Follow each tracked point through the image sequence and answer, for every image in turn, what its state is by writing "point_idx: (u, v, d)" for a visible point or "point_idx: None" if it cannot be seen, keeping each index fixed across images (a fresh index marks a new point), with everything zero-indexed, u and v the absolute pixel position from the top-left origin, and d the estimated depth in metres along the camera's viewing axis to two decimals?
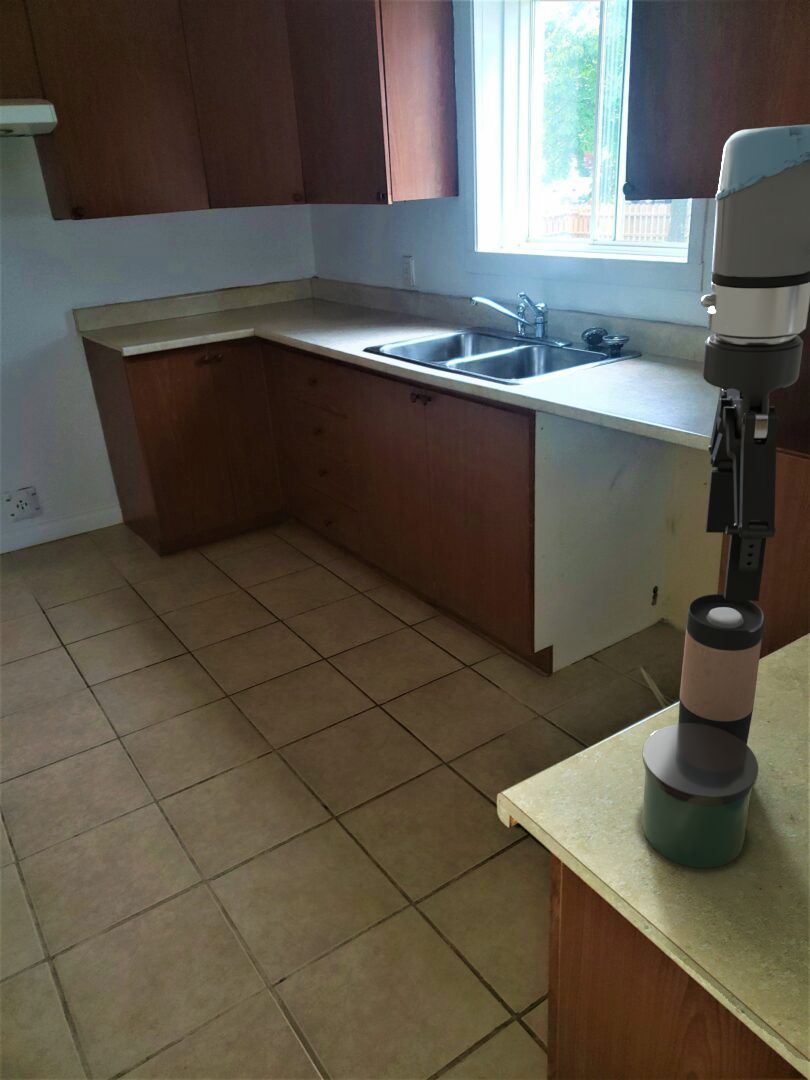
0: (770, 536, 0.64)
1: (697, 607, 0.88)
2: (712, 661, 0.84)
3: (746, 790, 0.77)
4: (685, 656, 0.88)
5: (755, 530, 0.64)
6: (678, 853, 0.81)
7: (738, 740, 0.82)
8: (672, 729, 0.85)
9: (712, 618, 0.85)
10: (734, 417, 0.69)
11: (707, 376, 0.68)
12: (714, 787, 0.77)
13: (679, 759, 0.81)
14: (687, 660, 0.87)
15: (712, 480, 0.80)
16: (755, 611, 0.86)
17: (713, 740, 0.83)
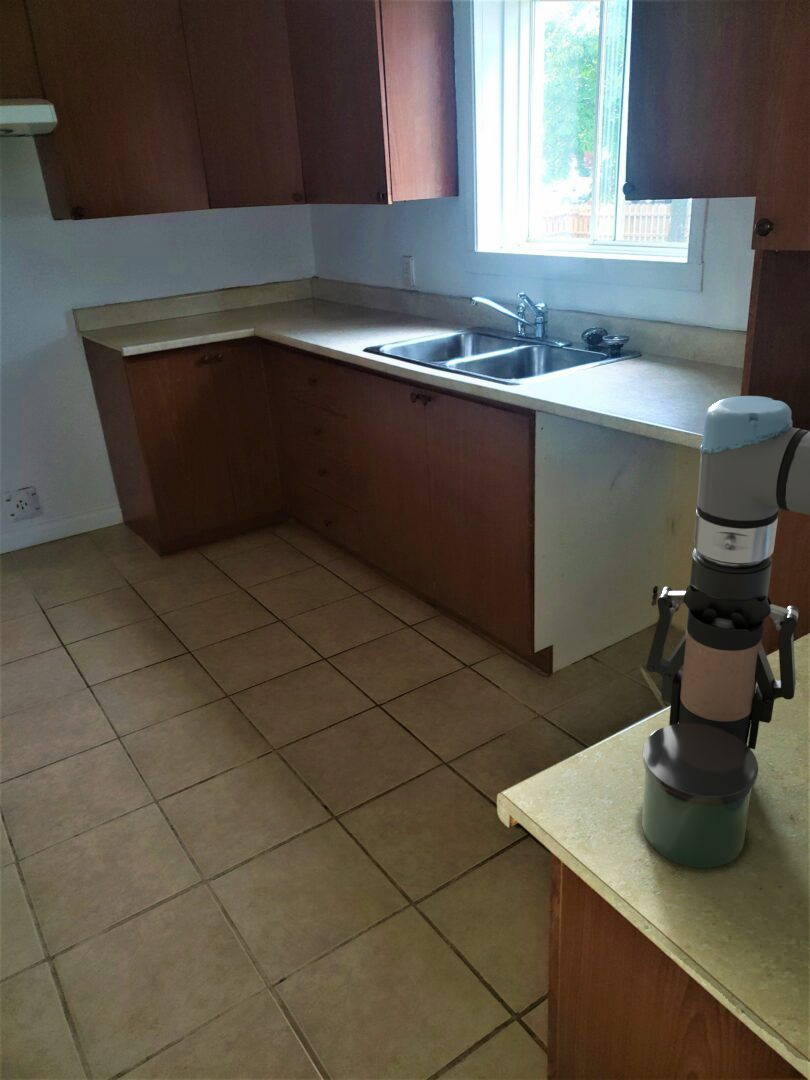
0: None
1: None
2: (712, 661, 0.84)
3: (746, 790, 0.77)
4: (685, 656, 0.88)
5: (794, 690, 0.85)
6: (678, 853, 0.81)
7: (738, 740, 0.82)
8: (672, 729, 0.85)
9: None
10: (745, 617, 0.83)
11: (737, 597, 0.80)
12: (714, 787, 0.77)
13: (679, 759, 0.81)
14: (687, 660, 0.87)
15: (679, 690, 0.90)
16: None
17: (713, 740, 0.83)
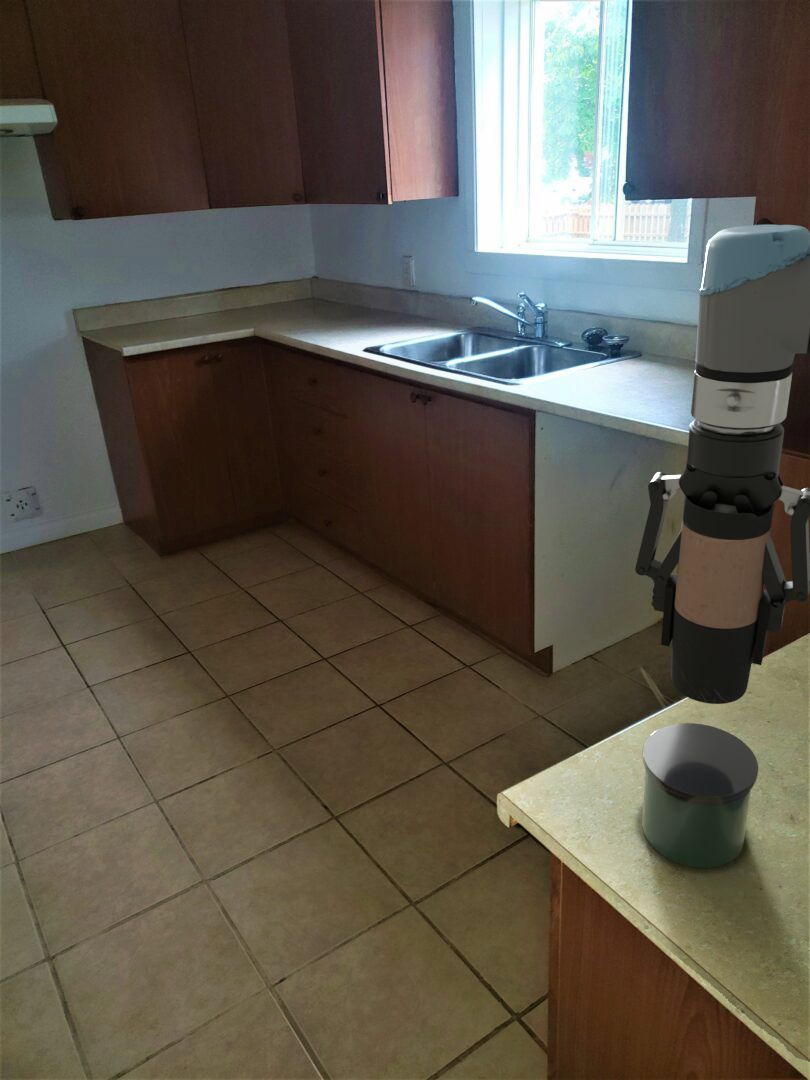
0: None
1: None
2: (711, 554, 0.71)
3: (746, 790, 0.77)
4: (680, 553, 0.75)
5: None
6: (678, 853, 0.81)
7: (738, 740, 0.82)
8: (672, 729, 0.85)
9: None
10: (751, 501, 0.70)
11: (742, 471, 0.67)
12: (714, 787, 0.77)
13: (679, 759, 0.81)
14: (682, 557, 0.74)
15: (673, 595, 0.77)
16: None
17: (713, 740, 0.83)
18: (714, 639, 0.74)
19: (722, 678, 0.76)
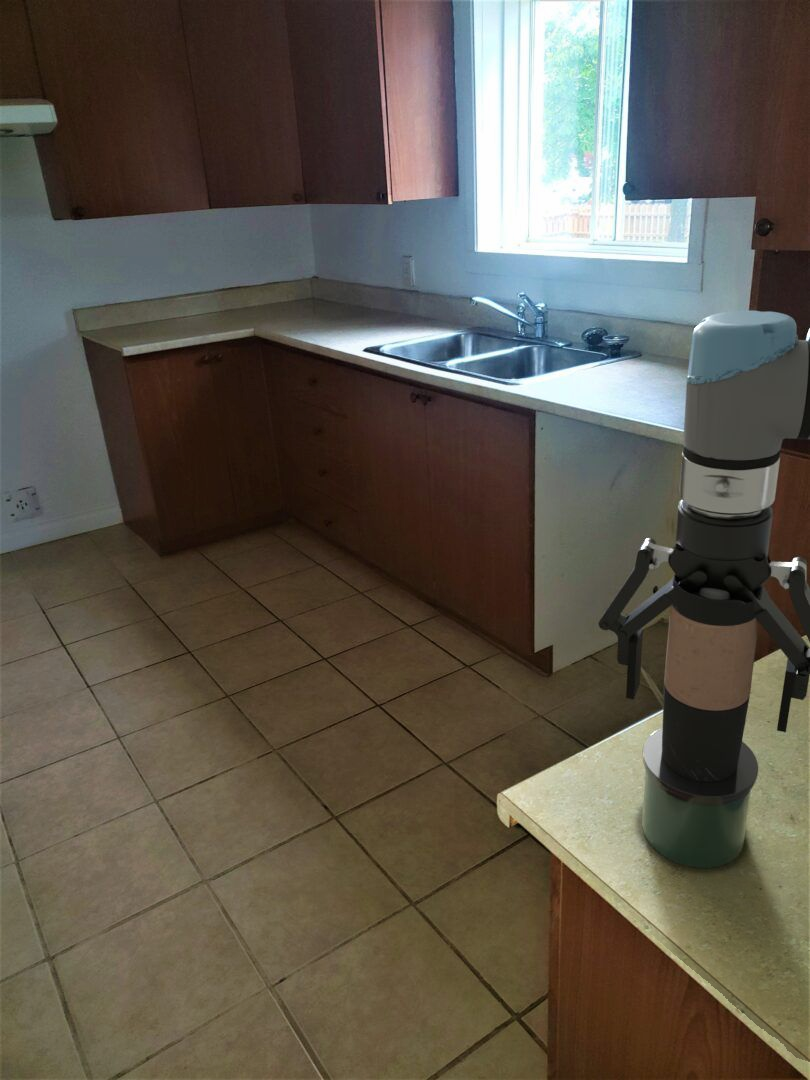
0: None
1: None
2: (701, 639, 0.71)
3: (746, 790, 0.77)
4: (670, 634, 0.75)
5: None
6: (678, 853, 0.81)
7: None
8: None
9: (701, 588, 0.72)
10: (741, 579, 0.70)
11: (732, 555, 0.67)
12: (714, 787, 0.77)
13: None
14: (672, 639, 0.74)
15: (636, 650, 0.77)
16: None
17: None
18: (705, 720, 0.74)
19: (713, 757, 0.76)
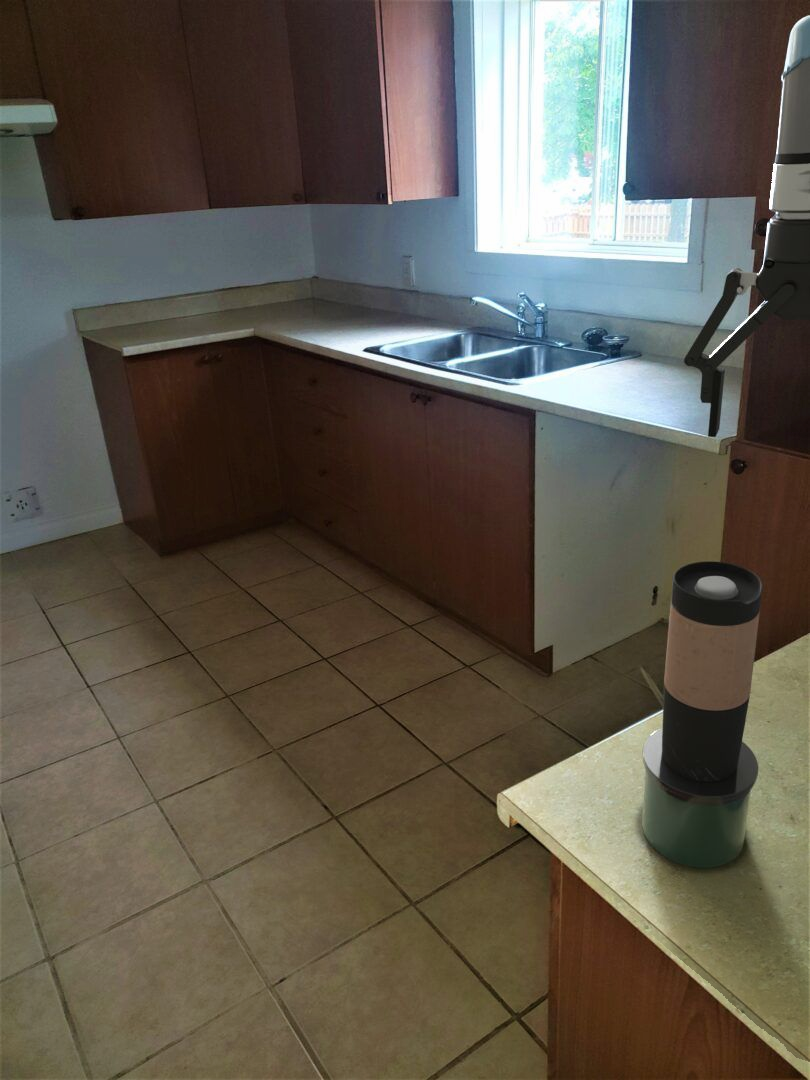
0: None
1: (684, 576, 0.75)
2: (701, 639, 0.71)
3: (746, 790, 0.77)
4: (670, 634, 0.75)
5: None
6: (678, 853, 0.81)
7: None
8: None
9: (701, 588, 0.72)
10: None
11: None
12: (714, 787, 0.77)
13: None
14: (672, 639, 0.74)
15: (720, 383, 0.82)
16: (752, 580, 0.73)
17: None
18: (705, 720, 0.74)
19: (713, 757, 0.76)
